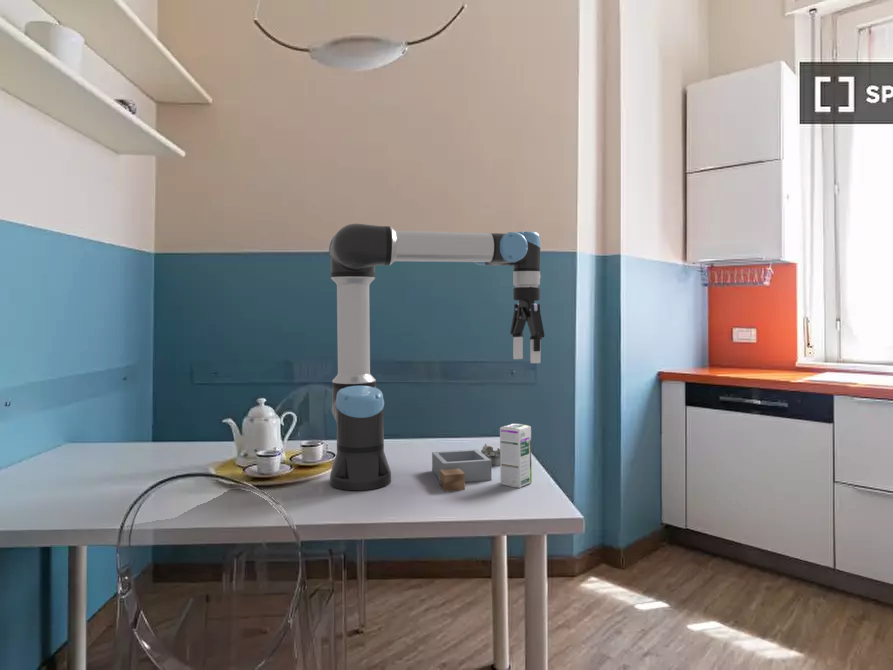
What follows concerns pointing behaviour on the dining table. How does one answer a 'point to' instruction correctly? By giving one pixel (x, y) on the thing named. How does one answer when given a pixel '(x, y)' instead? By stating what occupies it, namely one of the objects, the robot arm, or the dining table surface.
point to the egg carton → (492, 454)
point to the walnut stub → (452, 479)
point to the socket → (463, 464)
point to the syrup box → (515, 455)
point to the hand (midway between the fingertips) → (526, 361)
